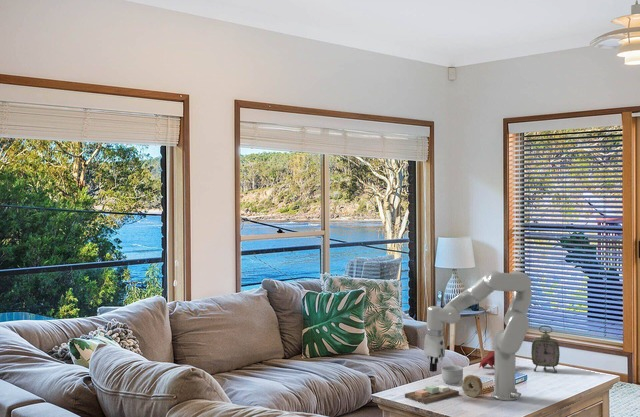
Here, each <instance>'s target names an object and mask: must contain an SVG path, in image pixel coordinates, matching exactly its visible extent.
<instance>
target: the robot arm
mask: <svg viewBox="0 0 640 417" xmlns="http://www.w3.org/2000/svg"><path fill="white" fill-rule="evenodd" d="M531 286H532V280H531V278H530V276H529V275H528V274H526V273H524V272H522V271H518V270H513V271H512V272H500V271H498V270H493V269H492V270H489V271H487V272H486V273H484V274H483V275H482V276H481V277H480V278H479V279H478V280H476V281H475V282H474V283H473V284H471V285H470V286H469V287H468V288H467V289H465V290H463V291H462V292H461V293H459V294H458V295H457V296H455V297H454V298H452V299H451V300H450V301H448V303H446V304H445V305H444V306H443V308H442V307H441V306H437V305H431V306H428V307H427V310H426V334H425V337H424V343H423V354H424V357H425V358H427V359H428V362H429V372H432V373H434V372H437V370H438V364H439V362H442V361H443V359H444V357H445V356H446V345H445V337H444V336H443V335H444V332H443V329H444V328H443V327H444V326H443V325H444V324H443V323H445V324H451V325H454V324H457V323H458V322H459V321H460V320H461V313H462V312H463V311H465V310H466V309H467V308H469V307H471V306H474V305H478V304H480V303H481V302H483V301H484V300H485V299H486V298H487V297H488V296H490V295H491V294H492V293H494V292H495V291H498V292H512V298H511V301H510V304H509V306H508V308H507V311H506V313H505V315H504V318H503V320H504V321H503V322H504V324H505V325H506V326H505V328H504V329H501V330H498V331H497V332H496V333H495V335H494V338H493V347H494V348H493V349H494V350H493V351H495V366H494V368H495V369H494V375H493V377H494V378H493V380H494V382H493V383H494V385H493V387H494V388H493V389H494V390H493V391H491V393H490V397H492V398H493V399H496V400H499V401H507V402H508V401H516V400H518V399H519V398H521V396H522V392H518V388H516V353H517V352H519V351H520V349H521V347H522V344H523V342H524V340H525V337H526V335H527V332H528V329H529V325H530V321H529V317H528V315H527V314H528V311H529V308H530V306H531V303H532V302H531V301H532V300H533V299H532V298H533V296H532V295H533V292H532V288H531Z"/></svg>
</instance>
